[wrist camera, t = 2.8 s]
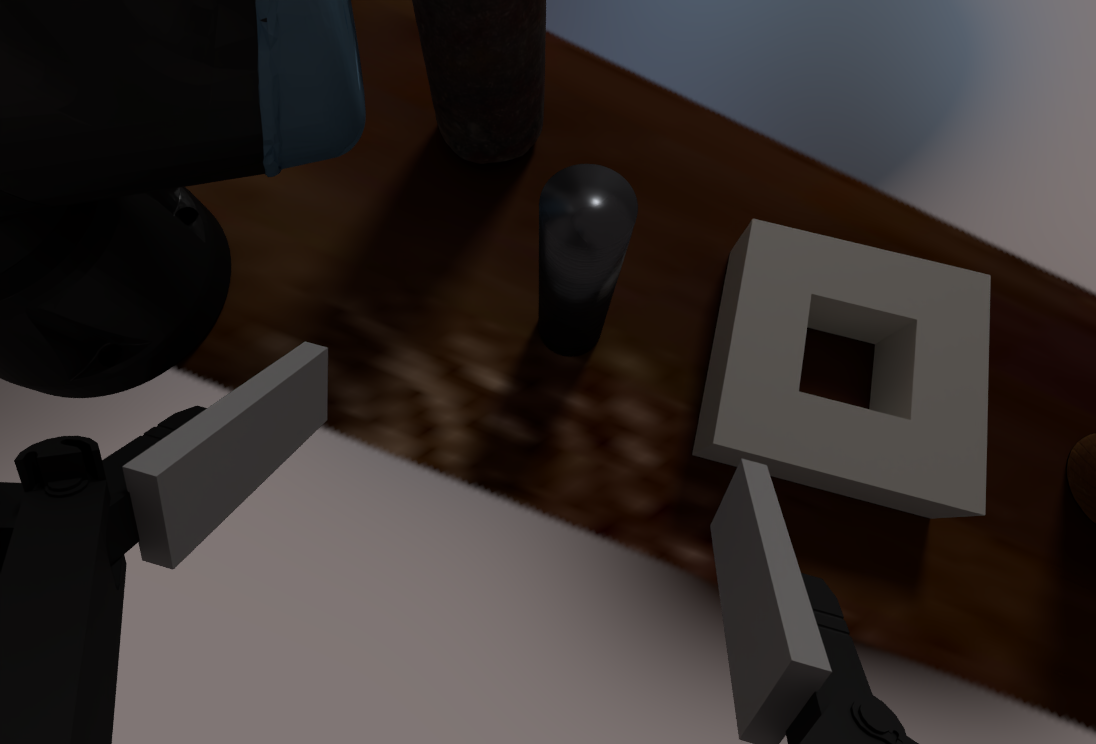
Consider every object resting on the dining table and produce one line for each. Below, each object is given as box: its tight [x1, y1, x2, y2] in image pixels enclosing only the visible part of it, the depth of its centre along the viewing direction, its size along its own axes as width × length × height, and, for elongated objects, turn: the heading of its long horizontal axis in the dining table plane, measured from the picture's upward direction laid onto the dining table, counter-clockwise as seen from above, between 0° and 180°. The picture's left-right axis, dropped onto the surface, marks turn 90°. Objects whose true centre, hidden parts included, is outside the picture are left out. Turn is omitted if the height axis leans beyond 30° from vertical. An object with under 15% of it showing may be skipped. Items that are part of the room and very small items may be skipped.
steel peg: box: [538, 164, 638, 357], centre depth 28 cm, size 4×4×13 cm
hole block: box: [692, 219, 990, 519], centre depth 32 cm, size 14×14×4 cm
